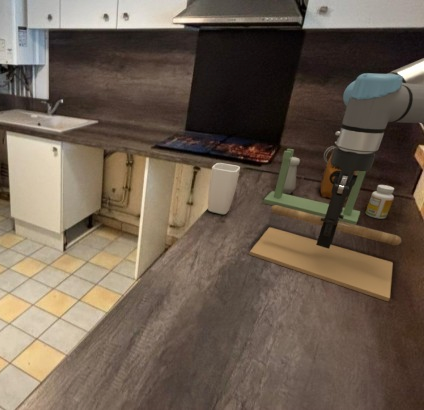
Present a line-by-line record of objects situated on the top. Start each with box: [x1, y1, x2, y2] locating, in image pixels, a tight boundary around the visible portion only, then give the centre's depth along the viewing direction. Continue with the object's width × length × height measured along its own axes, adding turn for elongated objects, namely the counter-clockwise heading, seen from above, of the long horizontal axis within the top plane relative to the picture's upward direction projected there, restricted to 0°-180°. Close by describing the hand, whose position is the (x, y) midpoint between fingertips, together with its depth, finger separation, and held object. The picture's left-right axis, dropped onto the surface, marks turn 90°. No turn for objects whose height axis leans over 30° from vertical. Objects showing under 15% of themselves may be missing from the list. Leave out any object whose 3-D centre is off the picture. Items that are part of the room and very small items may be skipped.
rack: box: [262, 148, 367, 225], centre depth 114 cm, size 26×10×18 cm, turn 50°
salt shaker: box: [283, 156, 301, 195], centre depth 129 cm, size 6×6×13 cm
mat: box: [248, 226, 394, 303], centre depth 89 cm, size 28×18×1 cm, turn 50°
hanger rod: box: [270, 205, 402, 246], centre depth 85 cm, size 26×2×2 cm, turn 50°
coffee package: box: [320, 151, 357, 202], centre depth 125 cm, size 10×12×22 cm
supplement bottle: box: [365, 184, 395, 220], centre depth 112 cm, size 5×5×10 cm
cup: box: [207, 162, 241, 216], centre depth 112 cm, size 7×7×15 cm
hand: (323, 243), depth 87 cm, fingers closed on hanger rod, 2 cm apart
